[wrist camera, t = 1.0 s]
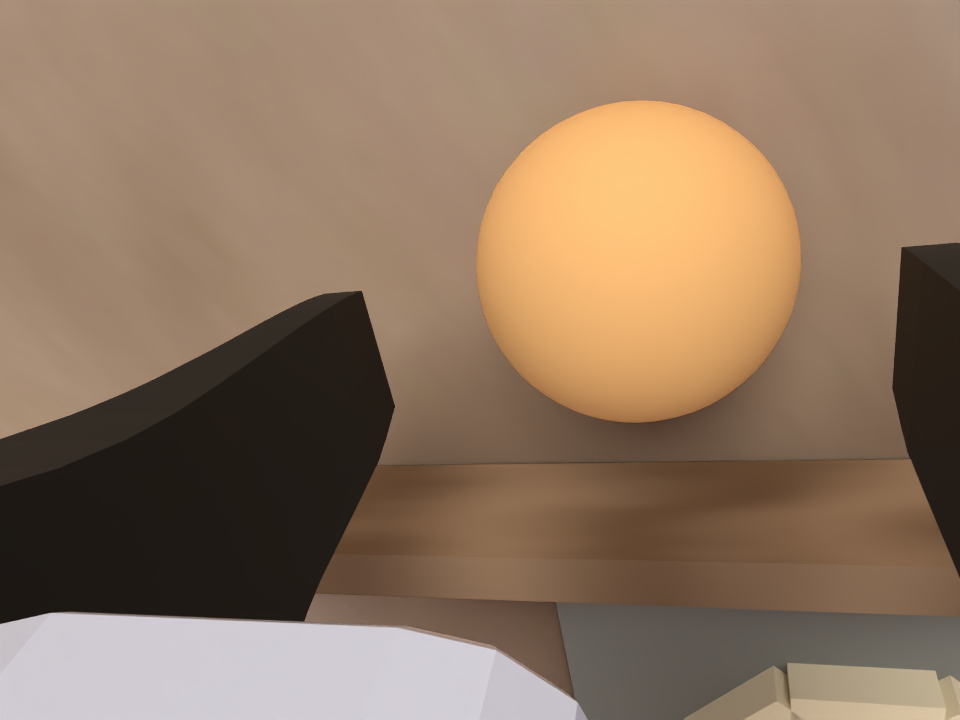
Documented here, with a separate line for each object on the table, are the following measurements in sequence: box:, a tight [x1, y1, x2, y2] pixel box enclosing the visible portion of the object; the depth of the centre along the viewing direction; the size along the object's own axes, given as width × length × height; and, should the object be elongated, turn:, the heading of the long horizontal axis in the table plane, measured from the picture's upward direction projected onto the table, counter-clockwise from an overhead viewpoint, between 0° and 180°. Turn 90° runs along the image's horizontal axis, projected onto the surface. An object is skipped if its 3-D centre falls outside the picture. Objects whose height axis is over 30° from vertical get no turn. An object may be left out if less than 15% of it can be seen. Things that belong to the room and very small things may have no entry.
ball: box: [476, 100, 801, 423], centre depth 13 cm, size 5×5×5 cm
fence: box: [315, 459, 960, 617], centre depth 17 cm, size 22×1×3 cm, turn 101°
